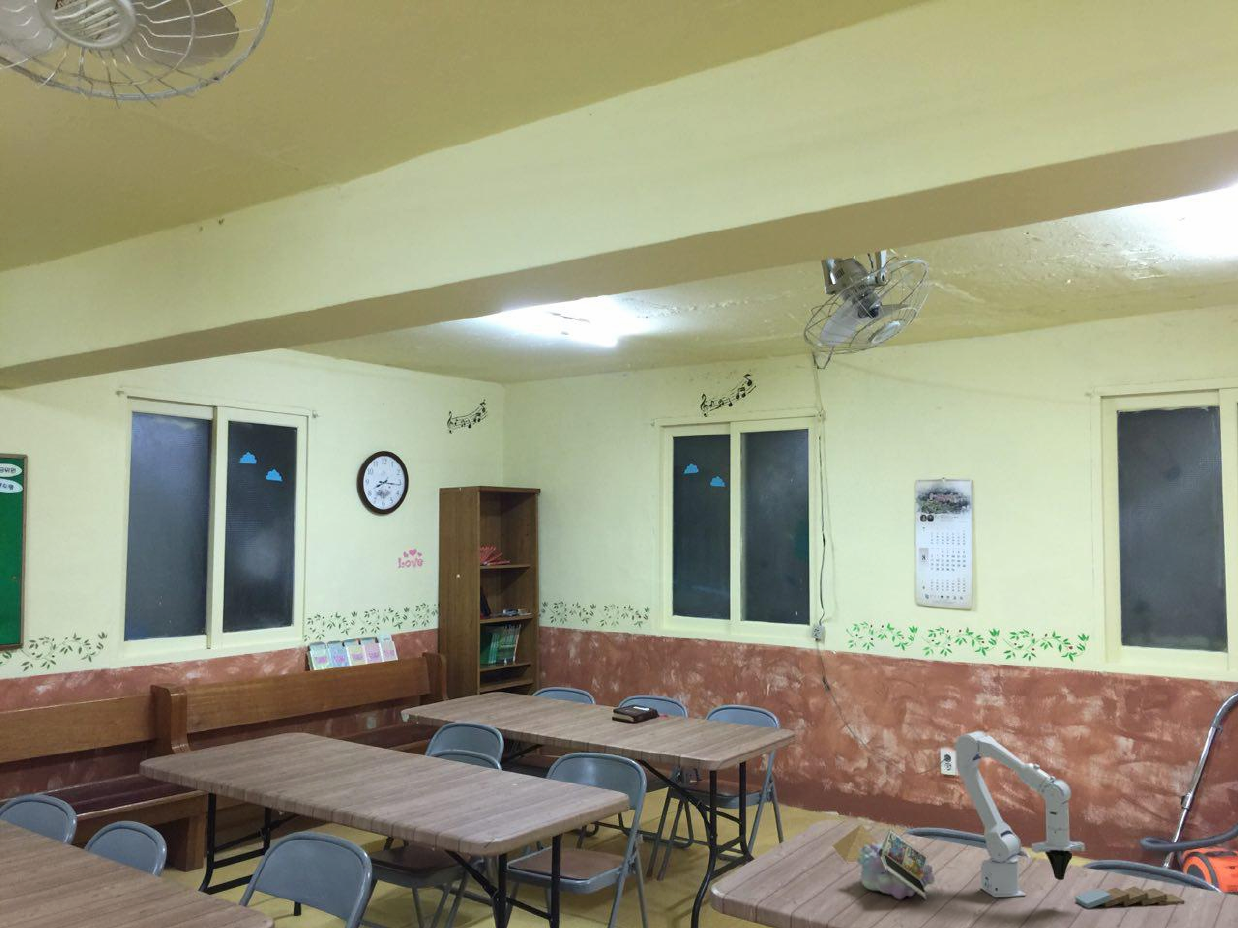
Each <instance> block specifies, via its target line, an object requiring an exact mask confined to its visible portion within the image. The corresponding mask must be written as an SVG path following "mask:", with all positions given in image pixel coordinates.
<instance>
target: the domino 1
mask: <svg viewBox="0 0 1238 928" xmlns="http://www.w3.org/2000/svg"><path fill="white" fill-rule="evenodd" d="M1074 898H1075V902H1076V903H1077V904H1079V905H1081V906H1083V907H1085V908H1087V909H1091V908H1094V907H1096V906H1099V905H1101V904H1102V903H1105V902H1107V901H1110V900H1112V898H1111V895H1110V894H1108V893H1106V892H1105V891H1104V890H1102V889H1101V888H1099V887H1098V888H1095V889H1093V890H1090V891H1088V892H1085V893H1082V894H1079V895H1077V896H1075V897H1074Z"/></svg>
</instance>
